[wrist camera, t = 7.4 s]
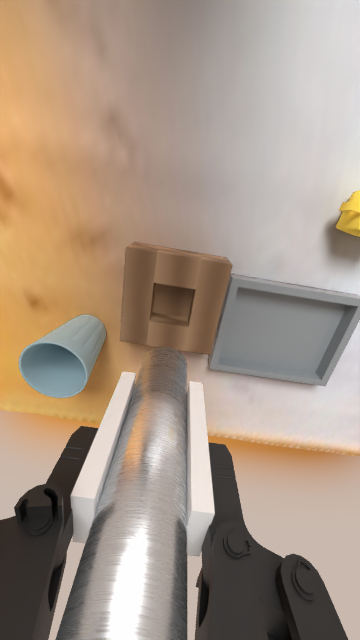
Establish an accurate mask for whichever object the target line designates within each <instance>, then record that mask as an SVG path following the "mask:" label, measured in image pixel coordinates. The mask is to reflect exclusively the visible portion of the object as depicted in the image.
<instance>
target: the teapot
mask: <svg viewBox="0 0 360 640" xmlns="http://www.w3.org/2000/svg"><path fill="white" fill-rule="evenodd" d="M339 210H340V211H342V212H343V213H342V215H341V217H340V219H339V221H338V223H337V225H336V228H337V229H339V230H341V231H343V232H346V233H348V234H351V235H354V236H358V237H360V191H356V192H354V193H353V194H352V195H351V197H350V199H349V201H348V202H343V203H342V205H341V207H340V209H339Z"/></svg>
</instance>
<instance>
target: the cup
mask: <svg viewBox="0 0 360 640" xmlns="http://www.w3.org/2000/svg"><path fill="white" fill-rule="evenodd" d="M105 338H106V329H105V326H104V324H103V323H102V322H101V321H100V320H99V319H98V318H96V317H94V316H92V315H87V314H83V315H79V316H77V317H75V318H73V319H71V320H70V321H68V322H66V323H65V324H63V325H62V326H60V327H58V328H57V329H55V330H53V331H52V332H50V333H48V334H47V335H45V336H44V337H42V338H40V339H38V340H37V341H35V342H34V343H32V344H30V345H29V346H27V347H26V348H25V349H24V350H23V351H22V353H21V355H20V358H19V369H20V372H21V374H22V376H23V378H24V379H25V381H26V382H27V383H28V384H29V385H30V386H31V387H32V388H33V389H35V390H36V391H38V392H40V393H42V394H44V395H47V396H50V397H55V398H67V397H71V396H74V395H76V394H78V393H80V392H81V391H82V390H83V389H84V387H85V386H86V384H87V381H88V379H89V376H90V374H91V372H92V369H93V367H94V364H95V362H96V360H97V357H98V355H99V353H100V350H101V348H102V345H103V343H104V341H105Z"/></svg>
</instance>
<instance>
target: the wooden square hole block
mask: <svg viewBox="0 0 360 640" xmlns="http://www.w3.org/2000/svg"><path fill="white" fill-rule="evenodd" d="M231 268H232V264H231V263H230V262H229V260H228V259H227V258H225V257H220V256H214V255H208V254H202V253H196V252H190V251H184V250H178V249H172V248H166V247H160V246H154V245H148V244H142V243H136V242H135V243H133V244H131V245H129V246H127V247H126V253H125V268H124V284H123V300H122V316H121V332H120V341H122V342H129V343H136V344H142V345H149V346H155V347H169V348H173V349H175V350H182V351H188V352H195V353H201V354H208V355H210V353H211V349H212V345H213V341H214V337H215V333H216V329H217V325H218V321H219V317H220V313H221V309H222V305H223V301H224V297H225V293H226V289H227V285H228V281H229V277H230V273H231Z"/></svg>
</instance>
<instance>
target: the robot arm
mask: <svg viewBox="0 0 360 640" xmlns="http://www.w3.org/2000/svg"><path fill="white" fill-rule="evenodd" d="M135 377H136V373H131V372H124V371H123V372H122V374H121V377H120V379H119V381H118V384H117V386H116V389H115V391H114V393H113V396H112V398H111V400H110V403H109V405H108V408H107V410H106V412H105V415H104V417H103V419H102V422H101V424H100V427H99V428H92V427H84V426H81V427H80V428H79V429H78V430H76V431H75V432H74V433H73V434H72V435H71V437H70V439H69V441H68V443H67V445H66V448H65V449H64V450H63V452H62V454H61V457H60V458H59V460H58V462H57V464H56V465H55V467H54V469H53V471H52V473H51V475H50V477H49V479H48V480H47V482H46V484H43V485H39V486H36V487H34V488H33V489H31V490H29V491H28V492H27V493H25V494H24V495H23V496H22V497H21V498H20V499H19V501H18V503H17V504H16V506H15V507H14V509H15V514H16V516H13V517H11V518H7V519H3V520H0V640H48V638H49V634H50V629H51V625H52V621H53V616H54V612H55V607H56V603H57V599H58V594H59V590H60V586H61V581H62V577H63V572H64V568H65V564H66V554H67V549H68V546H69V543H70V541H71V538H72V535H73V542H79V543H86V541H87V537H88V534H89V531H90V528H91V525H92V521H93V518H94V516H95V512H96V509H97V506H98V503H99V500H100V496H101V493H102V490H103V487H104V483H105V480H106V477H107V474H108V471H109V467H110V464H111V461H112V458H113V455H114V451H115V448H116V445H117V442H118V438H119V435H120V432H121V429H122V426H123V422H124V419H125V416H126V413H127V410H128V406H129V403H130V400H131V397H132V393H133V390H134V387H135ZM201 550H202V568H201V571H200V574H199V576H198V580H197V583H196V587H198V588H199V592H198V605H197V617H196V630H195V640H348V638H347V636H346V634H345V631H344V629H343V626H342V624H341V622H340V619H339V617H338V615H337V613H336V610H335V608H334V605H333V603H332V601H331V598H330V596H329V594H328V591H327V589H326V587H325V584H324V582H323V580H322V579H321V577H320V575H319V573H318V571H317V570H316V569H315V568H314V567H313V565H312V564H311V563H310V562H309V561H307V560H306V559H305V558H303V557H302V556H299V555H295V554H291V555H287V556H286V557H285V558H282V557H281V556H279V555H277V554H275V553H273V552H271V551H269V550H267V549H266V548H264V547H263V546H261V545H260V544H258V543H257V542H256V541H255V540H254V539H253V537H252V536H251V535H250V533H249V532H248V530H247V528H246V526H245V523H244V519H243V515H242V509H241V504H240V499H239V493H238V488H237V483H236V480H235V472H234V467H233V462H232V456H231V454H230V452H229V451H228V449H227V447H226V445H223V444H216V443H209V442H208V435H207V425H206V414H205V403H204V393H203V383H200V382H193V381H190V382H189V386H188V391H187V555H191V556H199V555H200V553H201Z"/></svg>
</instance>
